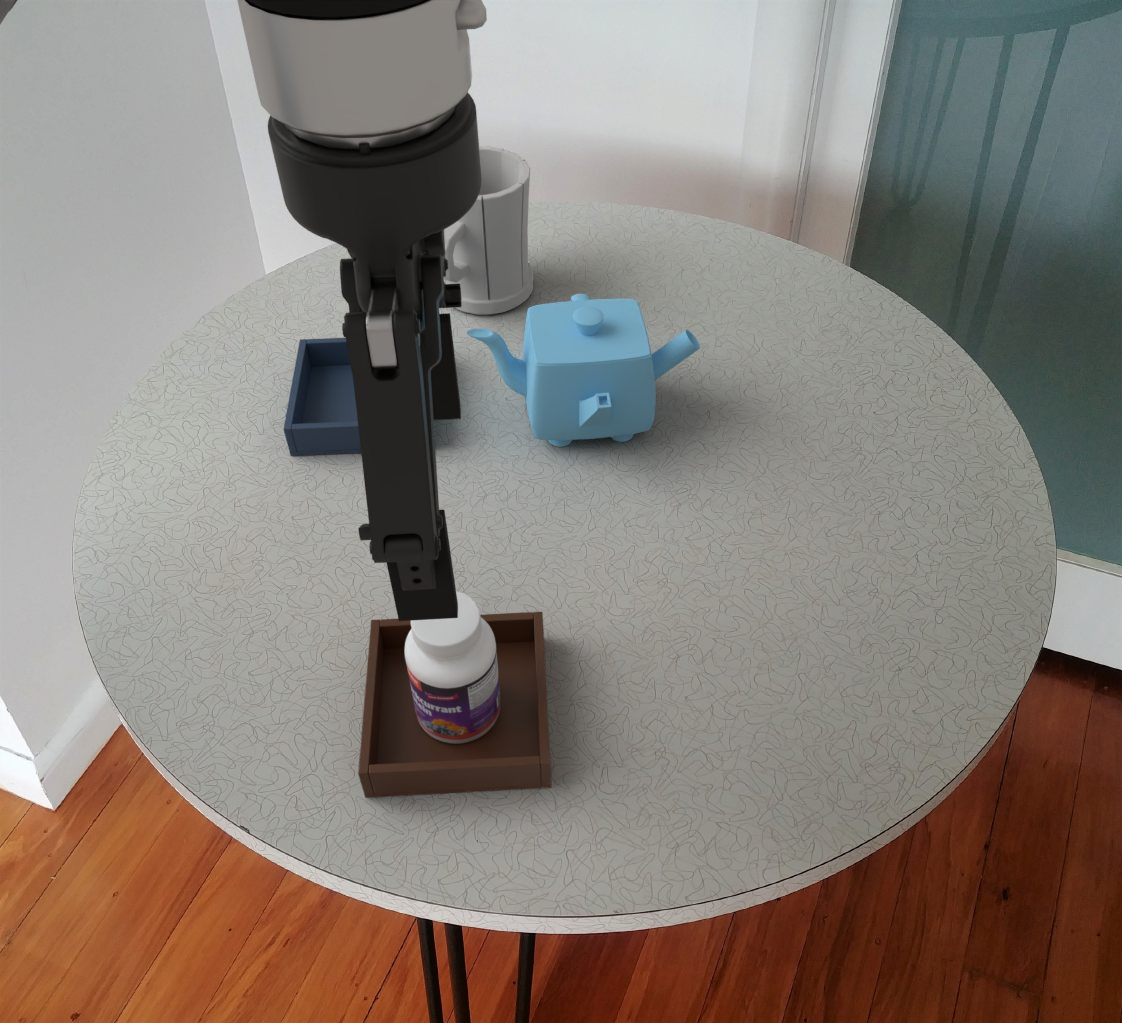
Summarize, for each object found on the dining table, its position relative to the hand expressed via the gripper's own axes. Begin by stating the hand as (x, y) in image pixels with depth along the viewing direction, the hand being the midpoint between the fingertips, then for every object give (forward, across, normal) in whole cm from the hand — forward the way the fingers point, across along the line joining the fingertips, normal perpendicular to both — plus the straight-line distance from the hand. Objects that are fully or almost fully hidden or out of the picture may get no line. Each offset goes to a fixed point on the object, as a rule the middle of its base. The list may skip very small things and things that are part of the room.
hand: (432, 506), depth 53 cm
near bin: (+19, 0, 0) cm, 19 cm away
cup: (+19, +45, -2) cm, 49 cm away
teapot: (+20, +27, -10) cm, 35 cm away
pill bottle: (+19, 0, 0) cm, 19 cm away
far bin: (+19, +30, +8) cm, 37 cm away
